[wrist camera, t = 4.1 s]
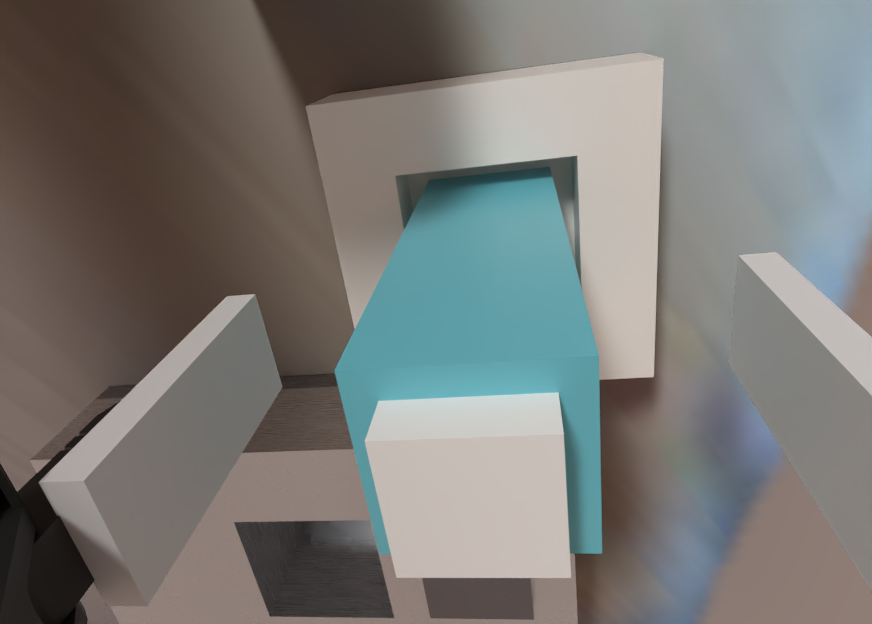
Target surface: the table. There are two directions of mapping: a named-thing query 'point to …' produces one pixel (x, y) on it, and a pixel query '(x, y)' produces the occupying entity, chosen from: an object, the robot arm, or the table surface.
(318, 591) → the port panel
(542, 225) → the plug
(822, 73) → the table surface
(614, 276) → the holster
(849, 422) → the robot arm
